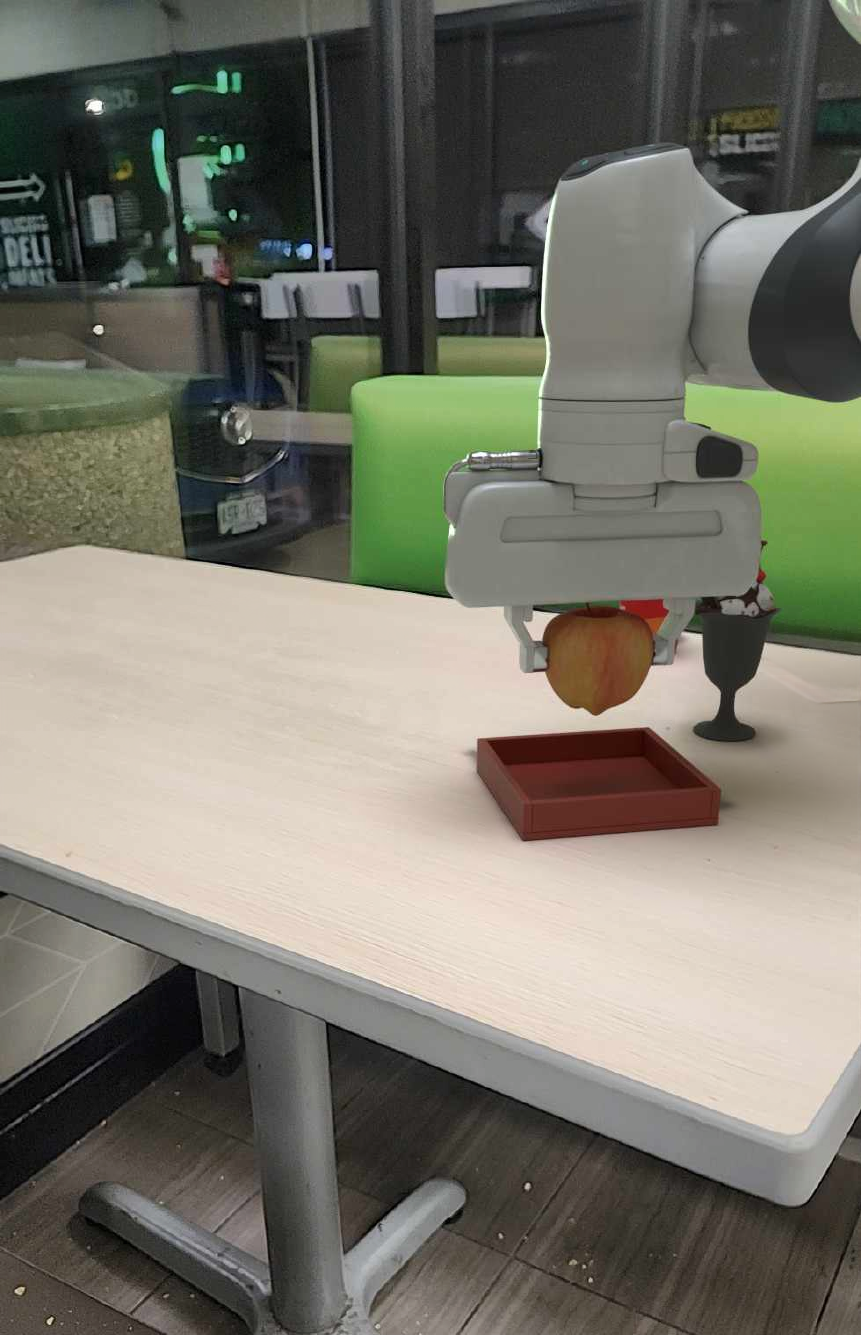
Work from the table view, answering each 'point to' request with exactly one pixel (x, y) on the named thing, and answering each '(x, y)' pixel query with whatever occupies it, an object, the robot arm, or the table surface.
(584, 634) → the apple
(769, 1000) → the table surface
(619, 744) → the red tray
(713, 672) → the sundae
